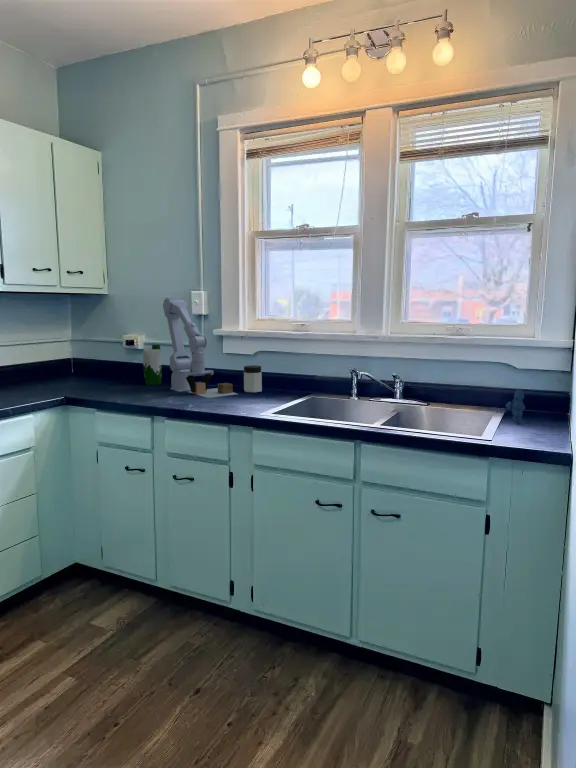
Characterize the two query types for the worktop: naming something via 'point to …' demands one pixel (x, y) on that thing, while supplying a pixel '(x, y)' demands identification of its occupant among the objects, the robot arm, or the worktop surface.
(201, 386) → the terracotta block
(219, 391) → the walnut block
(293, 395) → the worktop surface
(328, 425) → the worktop surface
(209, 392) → the mat
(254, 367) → the jar
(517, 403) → the grapes
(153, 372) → the milk carton
